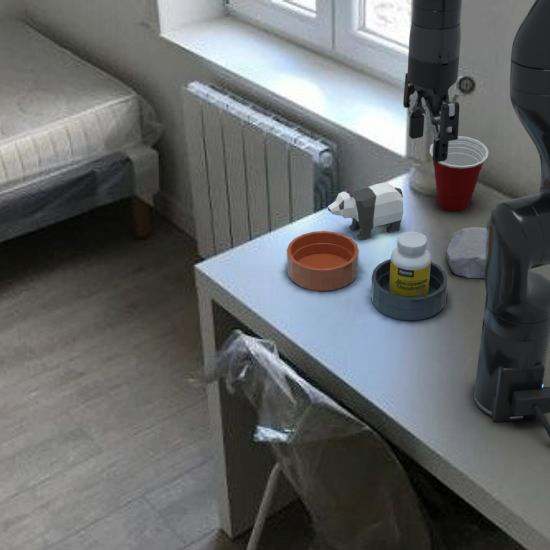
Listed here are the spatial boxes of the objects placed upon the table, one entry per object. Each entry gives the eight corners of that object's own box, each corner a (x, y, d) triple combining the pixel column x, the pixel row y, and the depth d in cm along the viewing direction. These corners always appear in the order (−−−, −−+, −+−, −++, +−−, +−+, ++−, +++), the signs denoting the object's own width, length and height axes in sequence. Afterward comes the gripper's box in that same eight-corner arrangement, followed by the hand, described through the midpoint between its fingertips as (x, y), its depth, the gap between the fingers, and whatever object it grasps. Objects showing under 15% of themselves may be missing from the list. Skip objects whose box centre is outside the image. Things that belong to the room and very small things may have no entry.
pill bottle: (384, 305, 159) (387, 246, 153) (393, 283, 164) (396, 225, 158) (423, 312, 158) (428, 252, 151) (431, 290, 163) (436, 231, 156)
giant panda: (393, 216, 183) (395, 171, 178) (406, 230, 179) (409, 185, 173) (322, 232, 179) (322, 187, 174) (334, 247, 175) (334, 202, 169)
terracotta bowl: (363, 288, 164) (363, 267, 161) (291, 294, 163) (291, 272, 161) (351, 249, 174) (352, 228, 171) (284, 254, 173) (283, 233, 171)
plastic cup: (428, 219, 182) (432, 163, 175) (423, 190, 191) (426, 136, 184) (486, 219, 181) (493, 162, 174) (478, 190, 190) (484, 135, 183)
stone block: (447, 284, 167) (507, 280, 164) (444, 261, 165) (504, 256, 162) (451, 249, 177) (507, 245, 174) (448, 226, 175) (505, 221, 172)
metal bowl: (453, 318, 157) (455, 295, 154) (378, 324, 156) (379, 301, 153) (435, 275, 167) (437, 254, 164) (365, 281, 166) (366, 259, 163)
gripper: (391, 38, 148) (387, 134, 158) (432, 72, 137) (425, 173, 146) (435, 31, 150) (429, 126, 159) (479, 64, 139) (470, 164, 148)
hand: (427, 148), depth 153 cm, fingers open, 8 cm apart
